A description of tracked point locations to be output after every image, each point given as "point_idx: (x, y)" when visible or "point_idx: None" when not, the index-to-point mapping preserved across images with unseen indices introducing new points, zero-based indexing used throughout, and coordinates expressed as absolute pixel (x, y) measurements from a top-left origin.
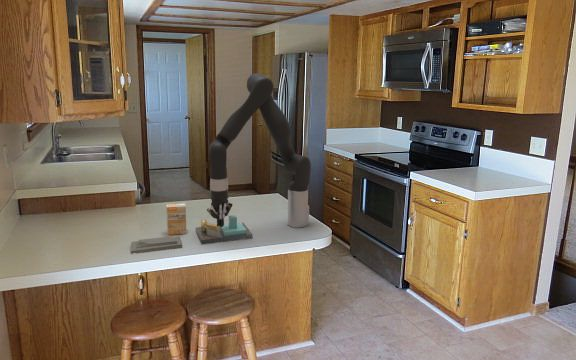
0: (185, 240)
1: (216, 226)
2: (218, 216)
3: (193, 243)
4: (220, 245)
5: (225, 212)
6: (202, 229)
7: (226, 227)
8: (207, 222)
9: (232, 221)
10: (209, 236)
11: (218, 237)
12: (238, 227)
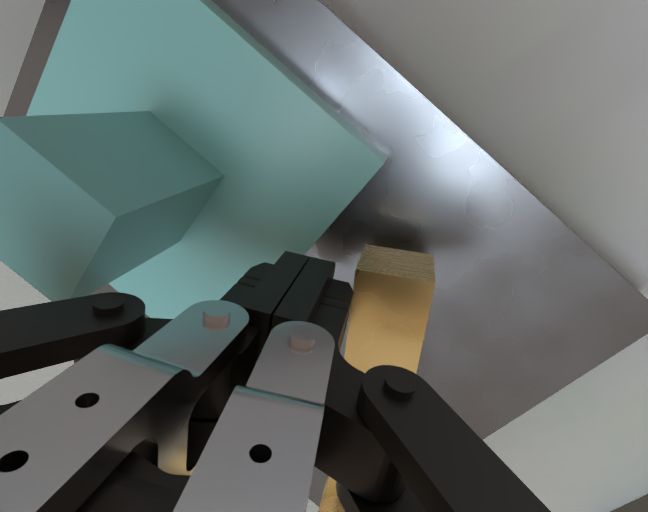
0: (588, 475)
1: (408, 305)
2: (328, 401)
3: (641, 378)
4: (578, 69)
5: (105, 346)
6: None
7: (218, 247)
8: (334, 483)
9: (130, 169)
10: (506, 298)
11: (485, 179)
12: (120, 108)
